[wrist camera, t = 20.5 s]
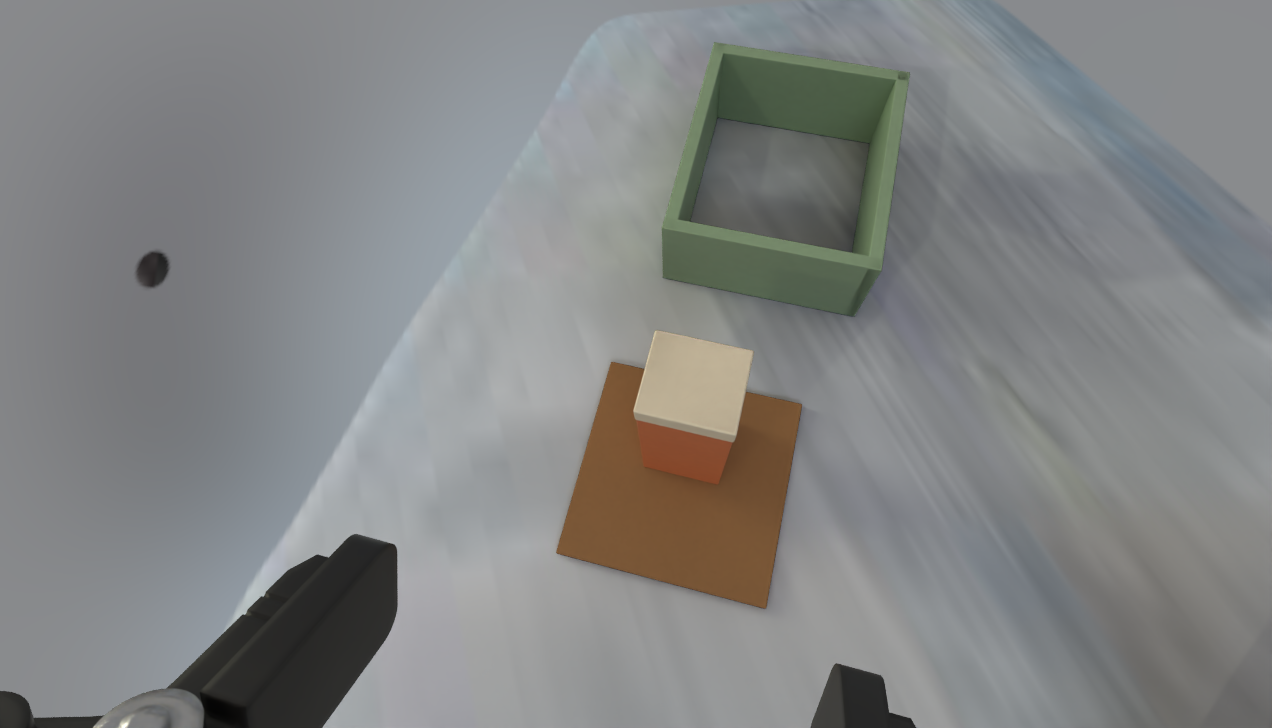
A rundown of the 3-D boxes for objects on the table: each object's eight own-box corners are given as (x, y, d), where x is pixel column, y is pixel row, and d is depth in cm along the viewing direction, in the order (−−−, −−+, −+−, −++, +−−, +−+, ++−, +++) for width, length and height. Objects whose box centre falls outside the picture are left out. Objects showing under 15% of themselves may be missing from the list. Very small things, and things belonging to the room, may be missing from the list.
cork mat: (801, 406, 41) (802, 404, 41) (765, 608, 37) (766, 608, 37) (611, 363, 43) (611, 361, 42) (557, 553, 38) (555, 552, 38)
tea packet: (733, 420, 40) (754, 350, 30) (718, 486, 39) (736, 436, 29) (658, 403, 41) (655, 328, 31) (642, 467, 40) (632, 411, 29)
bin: (882, 136, 48) (910, 72, 42) (854, 316, 43) (881, 270, 37) (709, 107, 50) (714, 41, 44) (662, 277, 45) (661, 227, 39)
